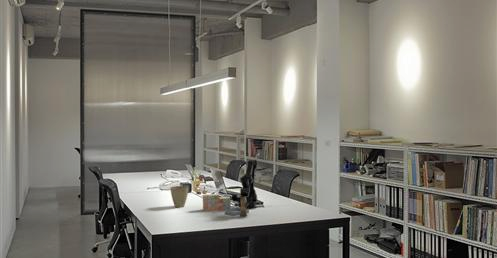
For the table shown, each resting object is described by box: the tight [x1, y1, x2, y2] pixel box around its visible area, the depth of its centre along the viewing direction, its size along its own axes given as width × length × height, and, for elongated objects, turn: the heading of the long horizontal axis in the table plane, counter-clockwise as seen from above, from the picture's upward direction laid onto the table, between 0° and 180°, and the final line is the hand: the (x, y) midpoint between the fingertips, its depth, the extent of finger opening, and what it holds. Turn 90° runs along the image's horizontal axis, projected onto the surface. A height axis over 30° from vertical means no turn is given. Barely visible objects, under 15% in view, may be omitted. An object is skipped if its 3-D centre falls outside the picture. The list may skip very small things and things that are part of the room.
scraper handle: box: [239, 197, 248, 218], centre depth 357 cm, size 6×6×14 cm
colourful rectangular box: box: [202, 193, 232, 212], centre depth 382 cm, size 21×6×12 cm, turn 102°
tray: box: [224, 207, 250, 217], centre depth 367 cm, size 14×12×2 cm
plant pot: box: [170, 185, 189, 208], centre depth 395 cm, size 15×15×16 cm
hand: (242, 207), depth 356 cm, fingers closed on scraper handle, 4 cm apart
